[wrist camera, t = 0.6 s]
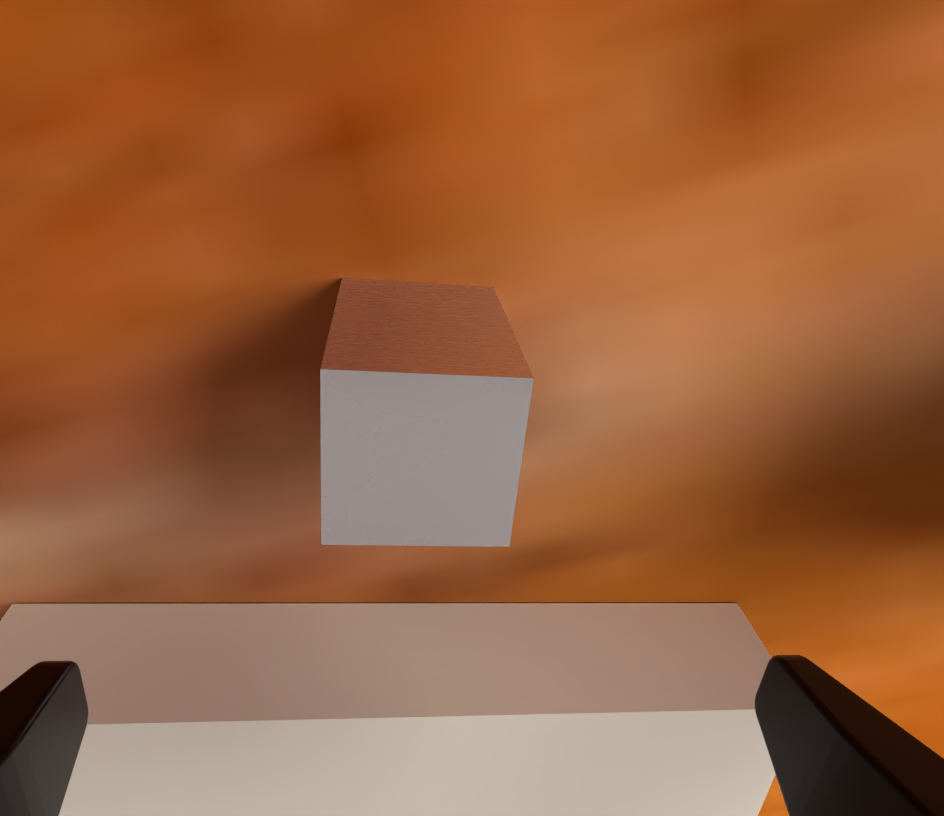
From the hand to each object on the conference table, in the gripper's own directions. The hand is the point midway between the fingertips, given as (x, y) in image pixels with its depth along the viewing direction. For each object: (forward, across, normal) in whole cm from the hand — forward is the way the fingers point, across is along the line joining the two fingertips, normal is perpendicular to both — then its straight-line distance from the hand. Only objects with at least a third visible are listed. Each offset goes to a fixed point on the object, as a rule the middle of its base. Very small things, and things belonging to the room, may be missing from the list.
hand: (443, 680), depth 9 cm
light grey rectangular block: (+11, 0, 0) cm, 11 cm away
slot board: (+11, 0, +18) cm, 21 cm away
